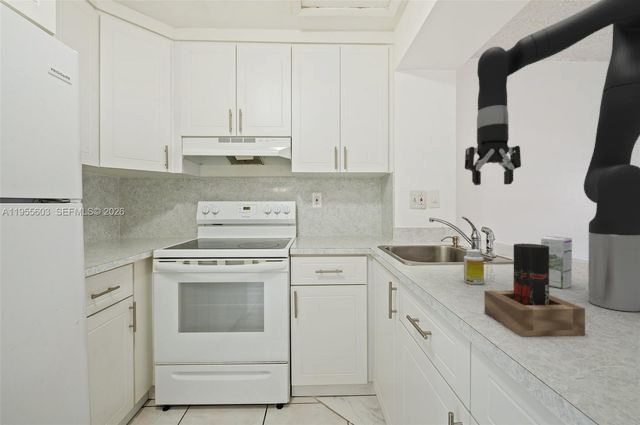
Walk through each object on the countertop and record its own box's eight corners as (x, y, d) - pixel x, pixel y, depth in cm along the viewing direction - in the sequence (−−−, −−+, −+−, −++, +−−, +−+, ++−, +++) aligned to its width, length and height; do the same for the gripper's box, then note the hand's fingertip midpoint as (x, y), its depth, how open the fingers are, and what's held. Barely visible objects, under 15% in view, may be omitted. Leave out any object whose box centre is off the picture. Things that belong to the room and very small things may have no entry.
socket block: (536, 311, 66) (536, 289, 66) (585, 335, 54) (585, 308, 54) (484, 312, 66) (484, 290, 66) (521, 336, 54) (521, 309, 54)
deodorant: (515, 310, 65) (515, 242, 64) (549, 316, 61) (549, 244, 60) (512, 318, 60) (512, 246, 60) (548, 325, 56) (548, 248, 56)
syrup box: (572, 286, 85) (572, 237, 85) (563, 289, 83) (563, 238, 82) (549, 282, 90) (549, 235, 90) (540, 284, 88) (540, 237, 87)
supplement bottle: (487, 284, 89) (487, 251, 88) (470, 285, 88) (469, 252, 88) (477, 280, 94) (477, 248, 94) (460, 280, 94) (460, 249, 94)
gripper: (509, 129, 84) (509, 185, 84) (460, 129, 84) (460, 186, 84) (527, 121, 77) (527, 183, 77) (473, 122, 76) (474, 184, 77)
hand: (492, 184), depth 81 cm, fingers open, 8 cm apart
